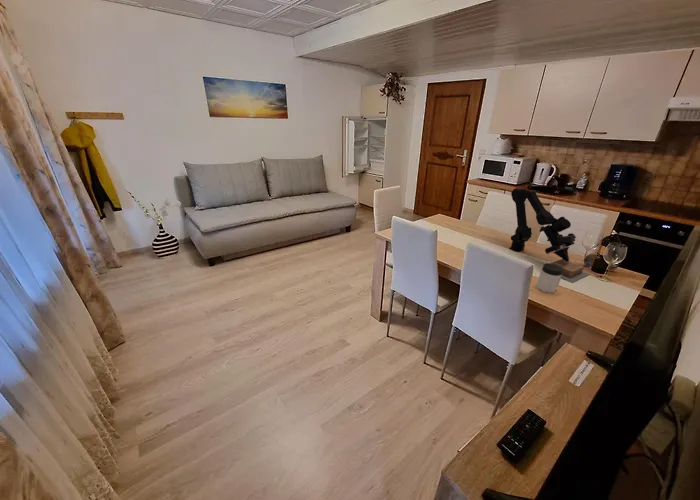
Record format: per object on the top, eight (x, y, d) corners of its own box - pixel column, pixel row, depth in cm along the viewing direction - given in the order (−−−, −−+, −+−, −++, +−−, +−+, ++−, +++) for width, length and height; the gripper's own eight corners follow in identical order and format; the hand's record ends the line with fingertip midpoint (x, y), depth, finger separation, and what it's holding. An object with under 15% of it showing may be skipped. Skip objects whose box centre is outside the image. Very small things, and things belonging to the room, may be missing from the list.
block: (550, 263, 161) (572, 271, 153) (562, 258, 167) (584, 266, 158) (548, 269, 163) (569, 278, 154) (560, 265, 168) (581, 273, 160)
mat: (546, 272, 161) (546, 271, 161) (563, 265, 169) (564, 264, 169) (572, 282, 151) (572, 282, 151) (589, 274, 159) (589, 274, 159)
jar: (537, 291, 143) (545, 269, 138) (533, 282, 150) (540, 261, 145) (558, 294, 141) (567, 272, 136) (553, 286, 148) (561, 264, 143)
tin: (582, 266, 168) (587, 253, 165) (581, 264, 171) (586, 251, 167) (615, 273, 162) (621, 259, 159) (613, 270, 165) (619, 257, 161)
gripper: (557, 231, 152) (574, 259, 148) (576, 226, 161) (592, 252, 156) (538, 240, 161) (553, 266, 157) (556, 235, 170) (571, 259, 166)
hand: (567, 261), depth 159 cm, fingers closed
